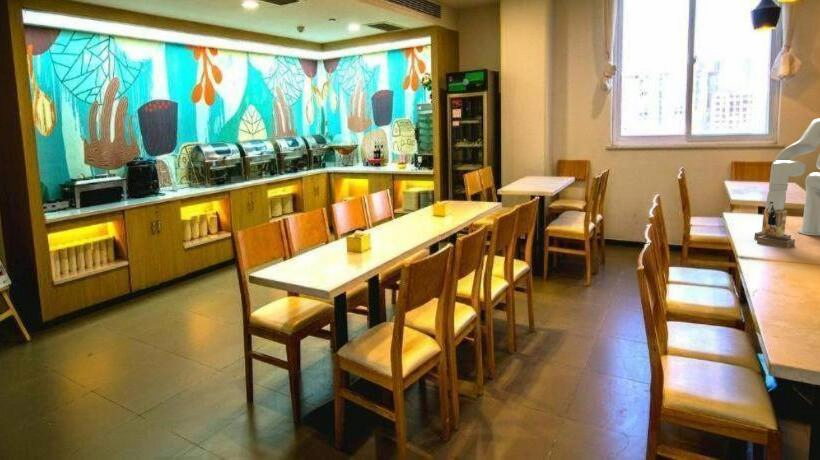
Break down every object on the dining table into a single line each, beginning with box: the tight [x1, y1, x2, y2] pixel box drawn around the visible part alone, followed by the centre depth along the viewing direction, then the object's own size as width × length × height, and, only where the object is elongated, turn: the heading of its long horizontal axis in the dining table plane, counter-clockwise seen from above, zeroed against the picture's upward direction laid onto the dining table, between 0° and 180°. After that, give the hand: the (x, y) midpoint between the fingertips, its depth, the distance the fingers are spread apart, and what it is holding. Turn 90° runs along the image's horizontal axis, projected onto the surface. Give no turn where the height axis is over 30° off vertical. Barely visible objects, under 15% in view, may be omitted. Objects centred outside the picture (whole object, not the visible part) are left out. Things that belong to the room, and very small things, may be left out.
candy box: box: [761, 209, 788, 237], centre depth 273 cm, size 9×4×15 cm, turn 34°
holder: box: [754, 230, 796, 249], centre depth 270 cm, size 16×18×3 cm
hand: (773, 223), depth 273 cm, fingers closed on candy box, 4 cm apart
